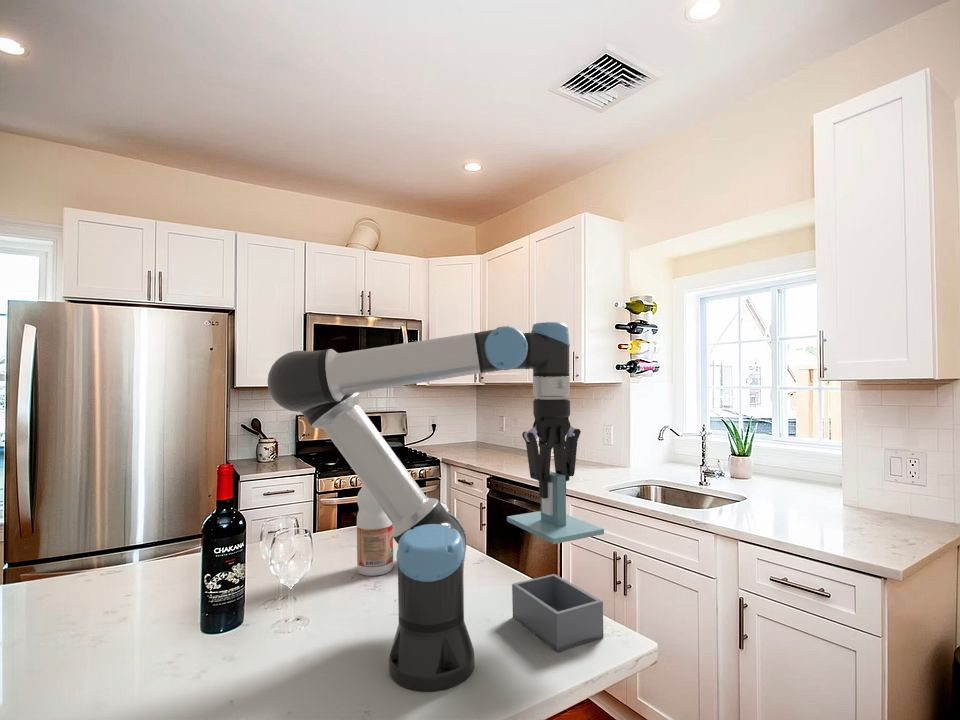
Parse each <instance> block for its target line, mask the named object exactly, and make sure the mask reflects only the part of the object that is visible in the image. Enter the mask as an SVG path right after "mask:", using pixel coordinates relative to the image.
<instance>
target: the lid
mask: <svg viewBox="0 0 960 720" xmlns="http://www.w3.org/2000/svg"><path fill="white" fill-rule="evenodd" d="M549 482H552V483H553V515H551V516H550V515H547V514H545V513H542V498H541V497H540V511H533V512H527V513H520V514H514V515H509V516H507V515H506V522H508V523H509V524H511V525H514V526H516V527H518V528H520V529H522V530H524V531H527V532H528V533H530V534H532V535H534V536H536V537H537V538H540V539H542V540H545V541H546V542H547V543H551V544H553V545H556V544H562V543H566V542H572V541H577V540H581V539H587V538H591V537H596V536H602V535H605V528H602V527H601V526H597V525H595V524H593V523H589V522H587V521H584V520H582V519H580V518H577V517H574V516H573V515H569V514H567V506H566V505H567V481H565V475H562V474H558V473H555V472H554V471H551V470H550V476H549Z"/></svg>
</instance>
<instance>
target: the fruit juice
mask: <svg viewBox="0 0 960 720" xmlns="http://www.w3.org/2000/svg"><path fill="white" fill-rule="evenodd" d="M362 484H363V483H362ZM356 502H357V506H358V513H357V515H356V557H357V558H356V562H357V563H356V568H357V572H358V573H359V574H360V575H362V576H367V577H375V576H383V575H385V574H388V573H390V572H391V571H393V568H394V538H393V537H392V530H393V523H392V522H391V521H390V519H389V518H388V517H387V515H386V514H385V513H384V511H383V510H382V508H381V507H380V506H379V504H378V503H377V502H376V500H375V499H374V498H373V496H372V495H371V493H370V492H369V491H368V489H367V488H366V487H365V485H364V484H363V485H362V487H361V488H360V489H359V491H358V493H357V497H356Z"/></svg>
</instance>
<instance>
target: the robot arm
mask: <svg viewBox="0 0 960 720" xmlns="http://www.w3.org/2000/svg"><path fill="white" fill-rule="evenodd" d="M570 346H571V344H570V337H569V327H568V325H567V324H566V323H563V322H560V321H559V322H558V321H557V322H556V321H553V322H552V321H547V322H537V323H534V324H533V325H532V327H531V332H524V333H522V332H521V331H520V330H519V329H518V328H515V327H513V326H508V325H507V326H506V325H505V326H498V327H496V328H494V329H490V330H483V331H478V332H469V333H463V334H456V335H450V336H444V337H437V338H431V339H424V340H417V341H412V342H404V343H398V344H392V345H384V346H379V347H371V348H366V349H364V348H363V349H359V350H358V349H357V350H352V351H346V352H337V351H336V350H334V349H333V348H329V349H323V350H309V351H308V350H294V351H290V352H287V353H285V354H283V355H281V356H280V357H278V358H277V359H276V360H275V362H273V364H272V365H271V367H270V370H269V372H268V375H267V389H268V391H269V395H270V397H271V398H272V399H273V400H274V401H275V402H276V404H277V405H278V406H279V407H282V408H283V409H285V410H288V411H291V412H297V413H300V412H301V414H302V415H303V417H304V418H305V419H306V420H307V422H308V423H309V425H310V426H311V428H315V429H321V430H323V431H324V432H325V434H326V435H327V436H328V438H329V439H330V440H331V442H332V443H333V444H334V446H335V447H336V448H337V450H338V451H339V452H340V454H341V455H342V457H343V458H344V459H345V461H346V462H347V463H348V465H349V466H350V468H351V469H352V470H353V471H354V473H355V474H356V475H357V477H358V478H359V480H360V481H361V482H362V484H364V485H365V487H366V488H367V489H368V491H369V492H370V493H371V495H372V496H373V498H374V499H375V500H376V502H377V503H378V504H379V506H380V507H381V508H382V510H383V511H384V513H385V514H386V515H387V517H388V518H389V519H390V521H391V522H392V523H393V530H392V537H393V540H394V541H395V542H396V543H397V551H396V561H397V586H398V587H397V589H398V591H397V593H398V594H397V597H398V599H397V601H398V608H397V609H398V624H397V629H396V632H395V634H394V639H393V642H392V645H391V648H390V651H389V657H388V672H389V675H390V678H391V679H392V680H393V681H394V682H395V683H396V684H398V685H399V686H401V687H402V688H403V687H404V688H406V689H410V690H413V691H420V692H423V691H424V692H432V691H433V692H435V691H441V690H445V689H449V688H452V687H454V686H457V685H458V684H461V683H462V682H463V681H465V680H467V678H469V677H470V676H471V674H472V673H473V671H474V669H475V649H474V646H473V642H472V640H471V637H470V633H469V631H468V628H467V625H466V622H465V607H464V606H465V604H464V603H465V600H464V598H465V597H464V596H465V595H464V594H465V593H464V588H465V587H464V570H465V557H466V551H467V537H466V532H465V531H466V530H464V527H463V525H462V523H461V521H460V520H459V519H458V518H457V517H456V516H455V515H453V514H451V513H450V512H449V513H448V512H447V511H446V510H445V509H444V507H443V506H442V505H441V503H440V502H441V501H440V500H439V499H438V498H434V497H433V498H432V497H428V496H427V495H426V494H425V493H424V491H423V490H422V488H421V487H420V486H419V484H418V483H417V482H416V481H415V479H414V478H413V477H412V475H411V473H410V472H409V471H408V470H407V468H406V466H405V465H404V464H403V463H402V461H401V459H399V457H398V456H397V455H396V453H395V452H394V450H393V449H392V447H390V445H389V444H388V442H387V441H386V440H385V438H384V437H383V435H382V434H381V432H379V430H378V429H377V427H376V426H375V425H374V423H373V422H372V420H371V419H370V418H369V416H368V415H367V414H366V413H365V411H364V410H363V408H362V407H361V406H360V398H361V393H364V392H369V391H370V392H371V391H377V390H383V389H388V388H394V387H395V388H396V387H402V386H406V385H407V386H408V385H415V384H421V383H426V382H433V381H434V382H435V381H439V380H445V379H452V378H458V377H465V376H472V375H477V374H486V373H492V372H498V371H509V370H532V395H533V396H534V397H535V398H534V400H533V401H532V404H533V408H532V409H533V416H534V417H533V418H534V421H533V424H532V428H531V429H529V430H528V431H523V432H522V438H523V440H524V442H525V447H526V452H527V461H528V470H529V475H530V476H529V477H530V478H531V479H532V480H535V481H538V489H539V490H538V491H539V492H538V493H539V494H538V495H539V497H540V499H541V498H542V513H545V514H547V515H550V516H551V515H553V483H552V482H549V476H550V471H551V461H552V460H551V459H552V453H553V460H554V461H553V463H554V470H555V473H558V474H562V475H565V481H566V482H569V481H570V477H574V476H575V469H576V459H577V450H578V441H579V439H580V435H581V432H582V431H581V429H579V428H575V427H573V426H572V425H571V421H570V420H569V417H570V416H571V400H570V399H569V398H568V397H569V396H570V395H571V394H570V393H571V390H570V389H571V386H570V381H571V380H570ZM537 439H538V441H537ZM552 450H553V452H552Z"/></svg>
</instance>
